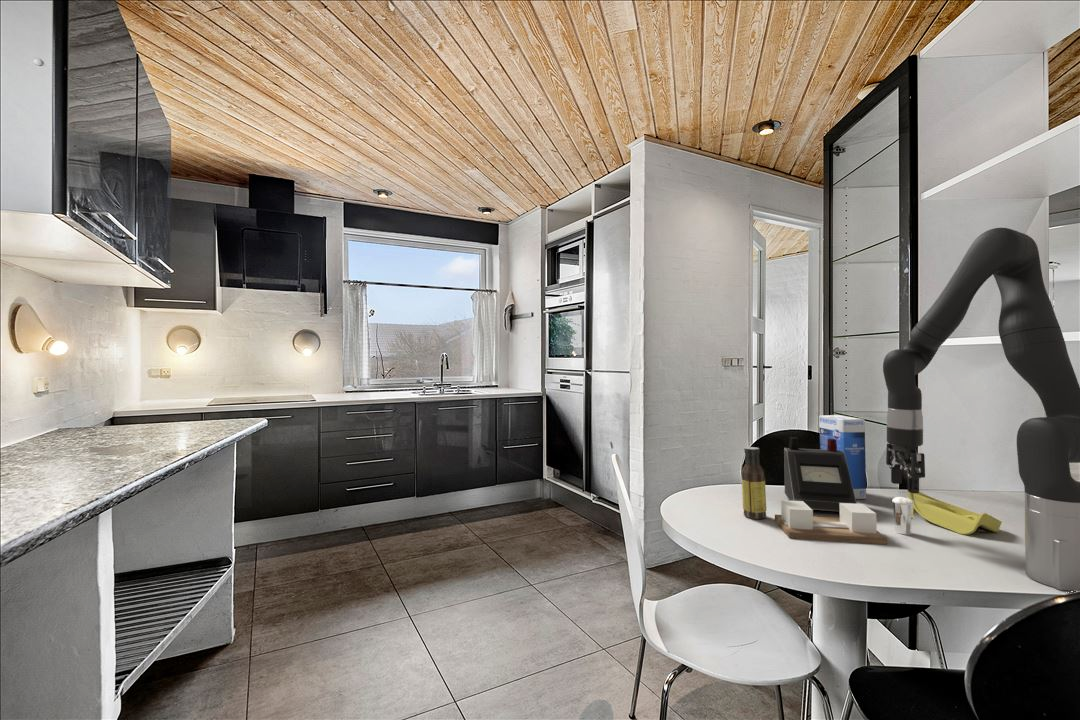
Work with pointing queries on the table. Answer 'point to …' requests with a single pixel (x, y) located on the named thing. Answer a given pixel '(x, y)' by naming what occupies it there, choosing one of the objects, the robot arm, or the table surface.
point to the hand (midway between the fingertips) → (904, 487)
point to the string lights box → (847, 446)
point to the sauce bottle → (753, 485)
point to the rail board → (830, 531)
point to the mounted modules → (850, 515)
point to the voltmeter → (817, 476)
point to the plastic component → (952, 515)
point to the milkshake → (903, 514)
